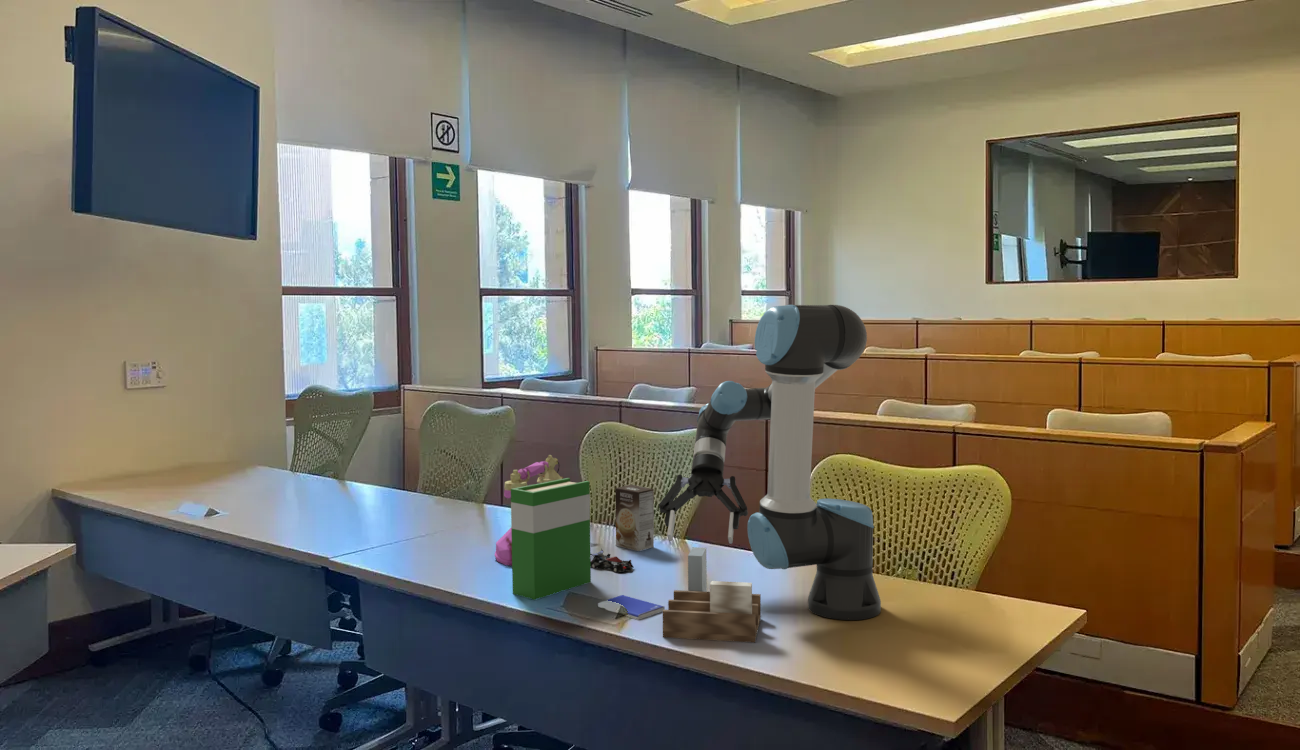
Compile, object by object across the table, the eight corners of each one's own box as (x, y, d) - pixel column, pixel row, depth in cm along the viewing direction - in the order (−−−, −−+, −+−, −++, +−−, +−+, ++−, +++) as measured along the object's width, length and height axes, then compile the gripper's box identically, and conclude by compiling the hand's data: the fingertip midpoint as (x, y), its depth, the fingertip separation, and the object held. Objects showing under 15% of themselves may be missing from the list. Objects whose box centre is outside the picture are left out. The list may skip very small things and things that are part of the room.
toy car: (601, 563, 240) (601, 547, 240) (639, 570, 233) (639, 554, 233) (586, 568, 235) (586, 552, 235) (625, 576, 228) (624, 559, 228)
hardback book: (568, 576, 227) (567, 477, 226) (590, 582, 223) (589, 481, 221) (512, 593, 214) (510, 488, 213) (534, 600, 209) (532, 492, 208)
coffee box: (614, 546, 256) (613, 487, 255) (630, 541, 261) (630, 484, 260) (638, 551, 250) (638, 491, 249) (655, 547, 255) (654, 488, 254)
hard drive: (664, 605, 201) (623, 594, 210) (637, 614, 195) (596, 602, 204) (664, 612, 201) (623, 601, 210) (638, 622, 195) (596, 609, 204)
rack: (760, 619, 195) (760, 570, 194) (755, 642, 181) (754, 590, 181) (674, 614, 199) (674, 566, 198) (662, 637, 185) (662, 585, 184)
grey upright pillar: (706, 601, 207) (706, 547, 206) (702, 611, 200) (702, 556, 199) (693, 601, 208) (692, 547, 207) (688, 611, 201) (687, 555, 200)
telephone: (549, 572, 231) (548, 471, 229) (468, 565, 238) (466, 467, 236) (603, 538, 264) (602, 450, 263) (530, 533, 272) (529, 447, 270)
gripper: (762, 471, 225) (756, 550, 211) (659, 469, 229) (647, 545, 216) (760, 453, 219) (754, 532, 205) (654, 451, 224) (642, 528, 210)
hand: (699, 539), depth 211 cm, fingers open, 13 cm apart
